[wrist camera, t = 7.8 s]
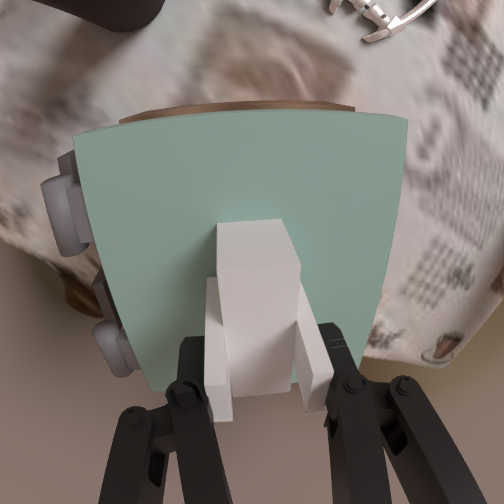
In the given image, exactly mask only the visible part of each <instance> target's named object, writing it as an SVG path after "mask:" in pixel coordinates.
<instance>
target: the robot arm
mask: <svg viewBox="0 0 504 504" xmlns="http://www.w3.org/2000/svg"><path fill="white" fill-rule="evenodd" d="M293 363H294V367H295V371H296V375H297V379H298V383H299V387H300V391H301V395H302V399H303V403H304V407H305V411H306V412H313V411H318V410H323V409H324V406H325V404H326V407H327V411H328V414H327V417H326V420H325V423H324V427H327V430H328V441H329V453H330V465H331V478H332V479H331V480H332V495H333V504H392V500H391V493H390V486H389V479H388V473H387V467H386V461H385V455H384V450H383V447H384V449H385V451H386V453H387V455H388V457H389V460H390V462H391V464H392V466H393V468H394V470H395V472H396V474H397V477H398V479H399V481H400V483H401V485H402V487H403V490H404V492H405V494H406V496H407V498H408V501H409V503H410V504H487V502H486V500H485V498H484V496H483V494H482V493H481V490H480V489H479V487H478V485H477V483H476V481H475V479H474V477H473V475H472V473H471V472H470V470H469V468H468V466H467V464H466V462H465V461H464V459H463V457H462V455H461V453H460V452H459V450H458V448H457V446H456V445H455V443H454V441H453V439H452V438H451V436H450V434H449V433H448V431H447V429H446V428H445V426H444V424H443V423H442V421H441V419H440V418H439V416H438V414H437V413H436V411H435V409H434V408H433V406H432V405H431V403H430V401H429V400H428V398H427V396H426V395H425V393H424V392H423V390H422V389H421V387H420V386H419V384H418V383H417V381H416V380H415V379H413V378H411V377H409V376H404V375H402V376H397V377H395V378H394V379H393V380H392V381H391V383H383V382H382V383H381V382H373V381H370V380H368V379H367V378H366V377H364V376H363V375H361V374H360V373H359V371H358V369H357V367H356V364H355V362H354V359H353V357H352V355H351V352H350V350H349V348H348V346H347V343H346V341H345V339H344V336H343V334H342V332H341V329H340V328H339V327H338V326H337V325H335V324H334V323H333V322H329V323H322V324H317V323H316V320H315V318H314V315H313V312H312V310H311V307H310V304H309V302H308V299H307V296H306V294H305V291H304V289H303V286H302V283H301V281H300V288H299V302H298V315H297V322H296V335H295V346H294V357H293ZM165 396H166V398H167V400H168V404H166V405H165V406H162V407H159V408H156V409H153V410H149V411H148V410H146V409H145V408H143V407H139V406H133V407H130V408H127V409H126V410H125V411H123V412H122V413H121V415H120V417H119V420H118V424H117V427H116V431H115V434H114V439H113V442H112V446H111V450H110V454H109V458H108V462H107V467H106V471H105V475H104V479H103V483H102V488H101V493H100V497H99V502H98V504H163V496H164V488H165V481H166V473H167V466H168V460H169V453H171V452H174V451H176V453H177V459H178V467H179V473H180V479H181V485H182V491H183V496H184V501H185V504H233V502H232V498H231V494H230V490H229V487H228V483H227V479H226V475H225V471H224V467H223V463H222V459H221V455H220V450H219V446H218V442H217V438H216V434H215V430H214V422H224V421H225V422H226V421H233V415H232V400H231V385H230V369H229V361H228V354H227V347H226V340H225V332H224V326H223V320H222V312H221V303H220V295H219V287H218V278H217V277H207V289H206V317H205V336H190V337H185V338H184V339H183V341H182V343H181V344H180V348H179V358H178V369H177V380H175V381H174V382H172V383H171V384H170V385H169V386H168V388H167V389H166V394H165Z"/></svg>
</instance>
